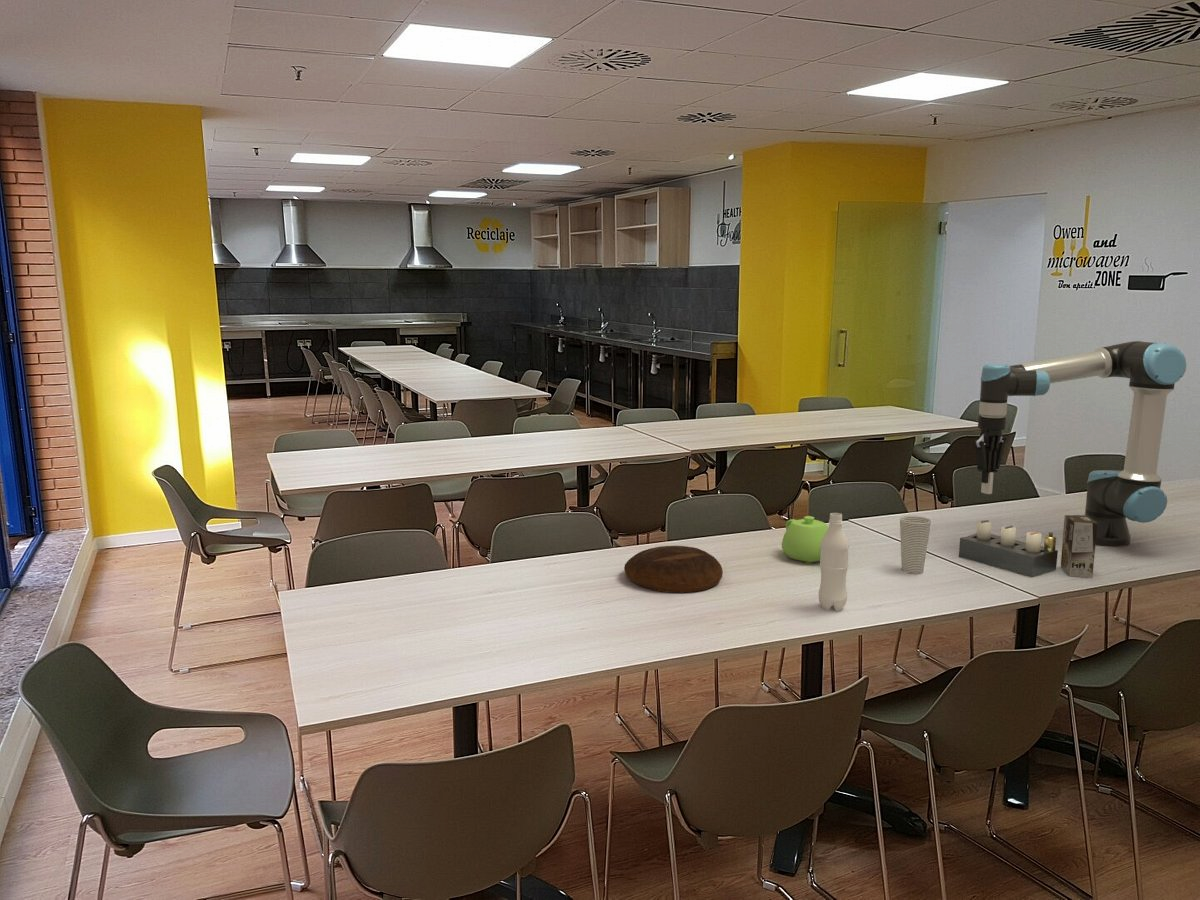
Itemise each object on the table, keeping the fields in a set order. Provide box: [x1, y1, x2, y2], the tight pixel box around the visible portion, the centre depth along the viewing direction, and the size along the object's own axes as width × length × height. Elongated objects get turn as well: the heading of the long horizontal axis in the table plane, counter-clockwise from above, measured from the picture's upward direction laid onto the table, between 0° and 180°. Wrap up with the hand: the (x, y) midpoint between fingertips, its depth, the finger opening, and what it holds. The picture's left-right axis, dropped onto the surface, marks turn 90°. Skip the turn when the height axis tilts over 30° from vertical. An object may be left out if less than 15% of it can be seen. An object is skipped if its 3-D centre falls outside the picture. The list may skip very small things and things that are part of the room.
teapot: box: [781, 515, 829, 565], centre depth 273 cm, size 22×15×13 cm
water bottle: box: [818, 512, 850, 611], centre depth 231 cm, size 7×7×25 cm
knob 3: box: [1025, 531, 1043, 554], centre depth 260 cm, size 4×4×7 cm
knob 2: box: [1000, 525, 1017, 547], centre depth 267 cm, size 4×4×7 cm
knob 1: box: [976, 519, 993, 541], centre depth 273 cm, size 4×4×7 cm
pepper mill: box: [1043, 531, 1057, 552], centre depth 260 cm, size 3×3×5 cm
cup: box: [899, 515, 932, 575], centre depth 260 cm, size 8×8×16 cm
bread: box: [623, 545, 724, 593], centre depth 257 cm, size 28×27×9 cm
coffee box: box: [1060, 514, 1098, 578], centre depth 258 cm, size 9×6×16 cm
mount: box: [958, 533, 1059, 578], centre depth 268 cm, size 12×24×6 cm, turn 33°
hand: (986, 492), depth 271 cm, fingers closed
